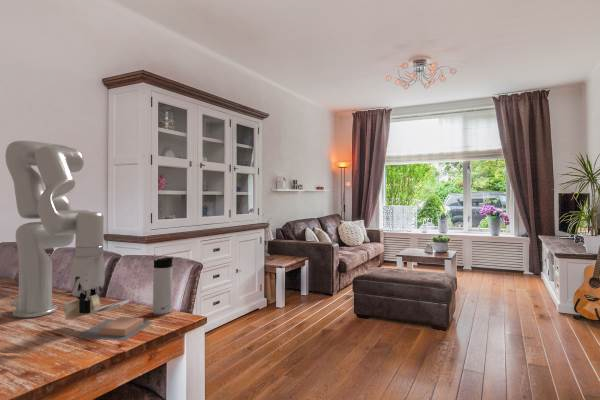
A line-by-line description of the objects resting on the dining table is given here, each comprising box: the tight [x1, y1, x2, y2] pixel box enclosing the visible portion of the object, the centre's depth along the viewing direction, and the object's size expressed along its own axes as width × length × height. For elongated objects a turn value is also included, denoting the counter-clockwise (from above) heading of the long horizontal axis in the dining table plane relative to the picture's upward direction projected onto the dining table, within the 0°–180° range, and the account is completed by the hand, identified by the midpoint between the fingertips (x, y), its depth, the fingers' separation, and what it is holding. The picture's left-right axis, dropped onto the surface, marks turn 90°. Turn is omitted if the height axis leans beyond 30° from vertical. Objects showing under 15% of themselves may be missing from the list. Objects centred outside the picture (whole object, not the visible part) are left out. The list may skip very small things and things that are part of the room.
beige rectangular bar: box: [62, 294, 130, 321], centre depth 116 cm, size 19×5×5 cm, turn 83°
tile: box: [100, 316, 144, 336], centre depth 115 cm, size 2×10×8 cm
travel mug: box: [152, 256, 174, 316], centre depth 132 cm, size 6×7×20 cm
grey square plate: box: [73, 318, 154, 342], centre depth 115 cm, size 16×16×1 cm
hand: (88, 310), depth 116 cm, fingers closed on beige rectangular bar, 3 cm apart
